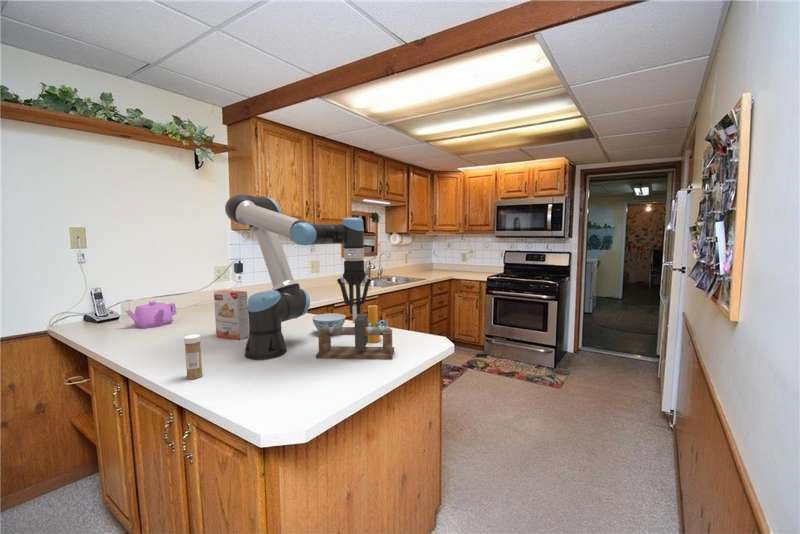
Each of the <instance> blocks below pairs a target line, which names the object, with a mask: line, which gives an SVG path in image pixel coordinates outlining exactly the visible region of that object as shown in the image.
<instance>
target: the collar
mask: <svg viewBox="0 0 800 534" xmlns="http://www.w3.org/2000/svg"><path fill="white" fill-rule="evenodd" d="M354 327H355V335H354V346H355V350H364V348H365V347H367V344H368V343H369V342H368V336H365V327H368V313H360V314H358V317H357V318H356V319H355V323H354Z"/></svg>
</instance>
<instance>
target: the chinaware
mask: <svg viewBox="0 0 800 534" xmlns="http://www.w3.org/2000/svg"><path fill="white" fill-rule="evenodd" d="M346 317H347V316H346V315H345V314H341V313H323V314H322V313H320V314H317V315H313V316H312V323H313V326H314V327H315V328H316V329H317V331H319V332H320V331H321V327H344V324H345V322H346Z"/></svg>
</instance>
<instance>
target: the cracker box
mask: <svg viewBox="0 0 800 534" xmlns="http://www.w3.org/2000/svg"><path fill="white" fill-rule="evenodd" d="M213 302H214V316H215V318H214V320H215V336H216V337H217V338H225V339H230V340H236V339H237V341H241V340H244V339H247V338H249V318H248V291H246V290H245V291H244V290H233V289H232V290H230V289H220V290H216V291H213ZM246 337H247V338H246ZM243 338H244V339H243Z"/></svg>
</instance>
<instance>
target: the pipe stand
mask: <svg viewBox="0 0 800 534" xmlns="http://www.w3.org/2000/svg"><path fill="white" fill-rule="evenodd" d="M317 334H318V352H316V354H315V359H325V358H327V359H329V358H330V359H331V360H332V359H334V358H336V359H335V360H337V359H338V360H339V359H340V360H391V359H393V356H394V352H395V347H394V346H393V329H392V328H391V327H389V326H388V327H387V326H386V327H384V326H383V327H381V326H379V327H365V336H368V335H380V336H382V346H365V348H364V350H355V345H354V346H352V345H349V346H348V345H347V346H345V345H343V346H342V345H341V346H339V345H336V346H335V345H332V341H331V339H332V338H331V337H332V336H355V326H342V327H321V331H319V332H318V333H317Z"/></svg>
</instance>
